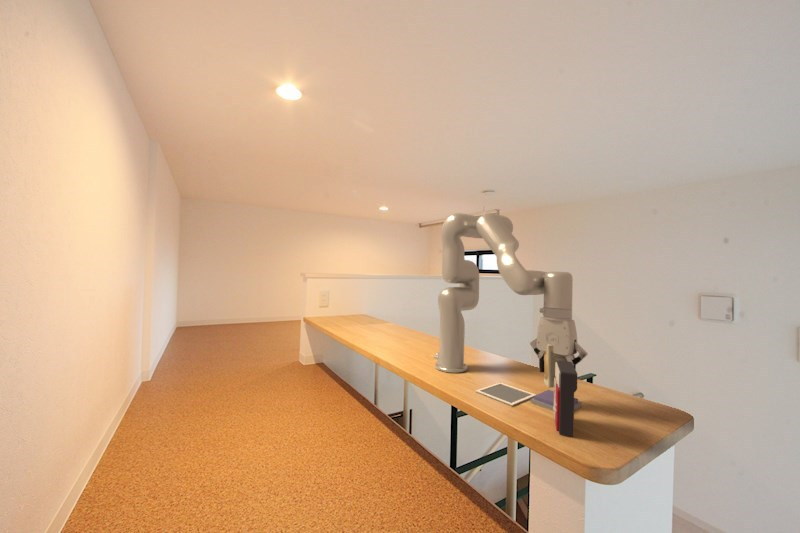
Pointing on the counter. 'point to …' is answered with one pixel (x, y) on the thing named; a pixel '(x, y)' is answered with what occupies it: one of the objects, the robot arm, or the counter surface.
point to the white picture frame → (506, 394)
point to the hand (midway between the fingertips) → (556, 374)
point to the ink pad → (549, 400)
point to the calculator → (564, 397)
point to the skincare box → (550, 365)
